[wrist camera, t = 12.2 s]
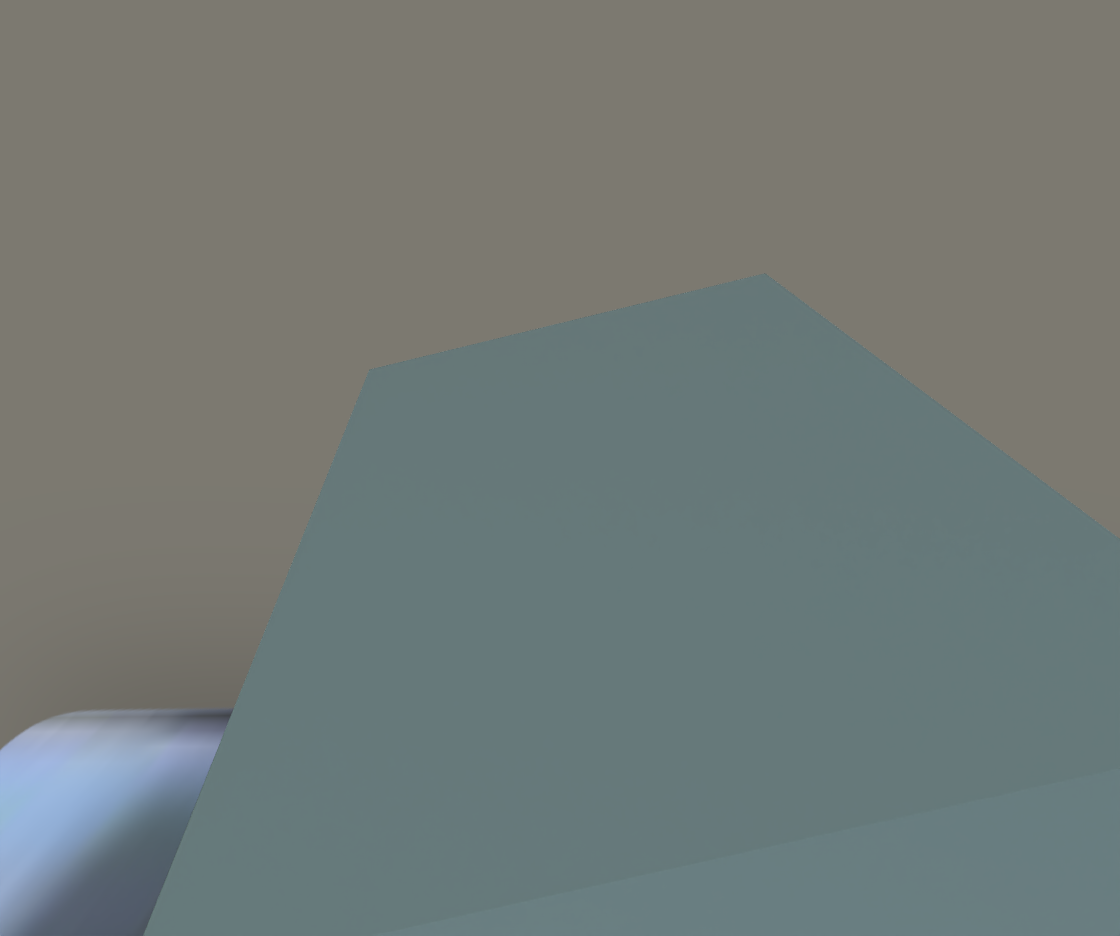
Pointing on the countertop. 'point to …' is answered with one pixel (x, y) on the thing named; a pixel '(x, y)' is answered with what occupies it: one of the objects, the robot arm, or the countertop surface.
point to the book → (671, 657)
